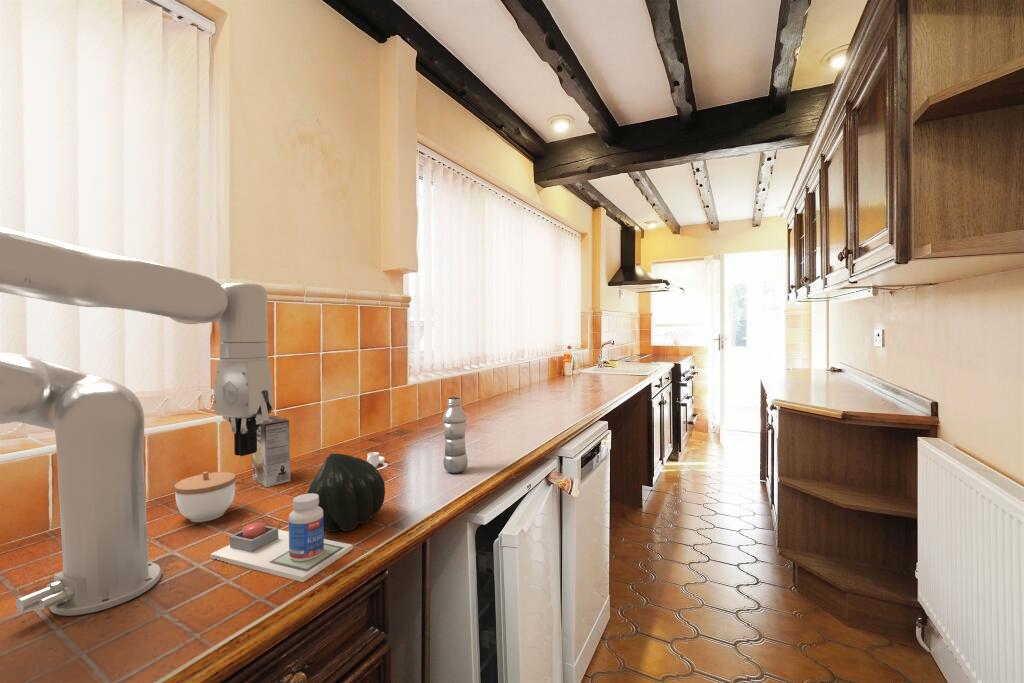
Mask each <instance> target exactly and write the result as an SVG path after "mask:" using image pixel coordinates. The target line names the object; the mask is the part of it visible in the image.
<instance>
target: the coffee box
mask: <svg viewBox="0 0 1024 683" xmlns="http://www.w3.org/2000/svg"><path fill="white" fill-rule="evenodd" d="M290 449H291V448H290V420H289V419H286V418H283V417H280V416H279V415H272V416H271V415H270V416H269V422H266V423H262V424H261V425H260V426H259V430H258V431H257V452H256V453H252V454H251V462H252V463H251V466H252V468H251V469H252V480H253V481H254V482H256V483H258V484H259V485H261V486H263V487H265V488H270V487H273V486H277V485H280V484H284V483H289V482H291V453H290V452H291V450H290Z"/></svg>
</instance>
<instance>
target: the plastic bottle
mask: <svg viewBox="0 0 1024 683" xmlns="http://www.w3.org/2000/svg"><path fill="white" fill-rule="evenodd" d="M446 400H447V403H446V406H447V408H446V410H445V411H444V413H443V415H442V424H443V431H444V432H443V433H444V443H445V444H444V455H443V462H442V463H443V467H444V469H445V472H446V473H447V472H448V473H450V474H451V473H453V474H454V473H455V474H456V473H462V472H464V471H466V470H467V468H468V461H469V459H468V455H467V449H466V426H467V425H466V424H467V414H466V413H465V411H464V409H463V408H462V407H461V406H462V398H461V397H460V396H454V397H453V396H451V397H448V398H447V399H446Z"/></svg>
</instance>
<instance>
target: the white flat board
mask: <svg viewBox="0 0 1024 683" xmlns="http://www.w3.org/2000/svg"><path fill="white" fill-rule="evenodd" d="M353 547H354V546H353V544H351V543H345V542H339V541H336V540H330V539H327V538H324V551H323V553H322V554H321V555H319V556H318V557H316V558H314V559H311V560H307V561H294V560H292V559H291V558H290V556H289V531H287V530H282V529H279V528H278V527H276V526H275V527H274V526H271V525H270V526H269V525H266V533H264V534H262V535H260V536H258V537H256V538H254V539H247V538H243V530H242V529H241V530H240V531H238V532H235V533H234V534H231V535H230V536H229V544H228V545H226V546H224V547H222V548H220V549H217V550H216V551H214V552H211V553H210V559H211V558H212V560H214V559H217V560H216V561H218V560H221V561H220V562H222V561H225V562H224V563H226V562H228V563H227V564H229V565H230V564H231V565H234V566H238V567H243V568H245V569H250V570H255V571H258V572H262V573H266V574H270V575H274V576H277V577H280V578H285V579H290V580H293V581H297V582H300V583H304V582H306V581H307V580H308V579H310V578H312V577H313V576H315V575H316V574H317V573H319V572H321V571H322V570H324V569H326V568H327V567H328V566H330V565H331V564H333V563H334V562H336V561H337V560H339V559H340V558H342V557H343V556H345V555H346V554H348V553H349V552H351V551H352V550H353Z"/></svg>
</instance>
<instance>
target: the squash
mask: <svg viewBox="0 0 1024 683" xmlns="http://www.w3.org/2000/svg"><path fill="white" fill-rule="evenodd" d="M377 469H378V468H377V467H374V466H373V465H372V464H370V463H369V462H367V460H366V459H362V458H360V457H355V456H352V455H348V454H343V453H333V452H332V453H329V455H328V456H327V457H326V459H325V460H324V461H323V463H322V465H321V467H320V468H319V470H318V472H317V473H316V475H315V476H314V478H313V480H312V482H311V484H310V486H309V488H308V490H307V493H306V494H310V493H313V494H318V495H319V504H318V506H319V507H321V508H322V509H323V524H324V529H325V530H327V531H329V532H337V531H340V530H343V531H344V532H347V531H348V532H349V531H352V530H354V529H355V528H356V526H358V524H365V523H367V522H369V520H370V519H371V518H372V517H374V516H375V515H376V514H378V513H379V511H380V510H381V508H382V507H383V505H384V501H385V496H386V495H385V494H386V487H385V480H384V479H383V477H382V475H381V472H380V471H379V470H377Z"/></svg>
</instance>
